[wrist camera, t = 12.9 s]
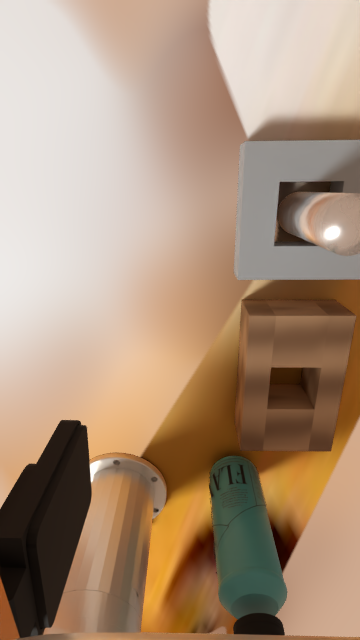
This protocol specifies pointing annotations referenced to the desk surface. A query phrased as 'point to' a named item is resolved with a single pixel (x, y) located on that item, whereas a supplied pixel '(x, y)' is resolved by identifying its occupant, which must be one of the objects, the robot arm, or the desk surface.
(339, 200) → the axle peg
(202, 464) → the desk surface
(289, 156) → the seat block
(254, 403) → the brown wooden block
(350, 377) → the desk surface
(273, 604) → the beverage bottle
